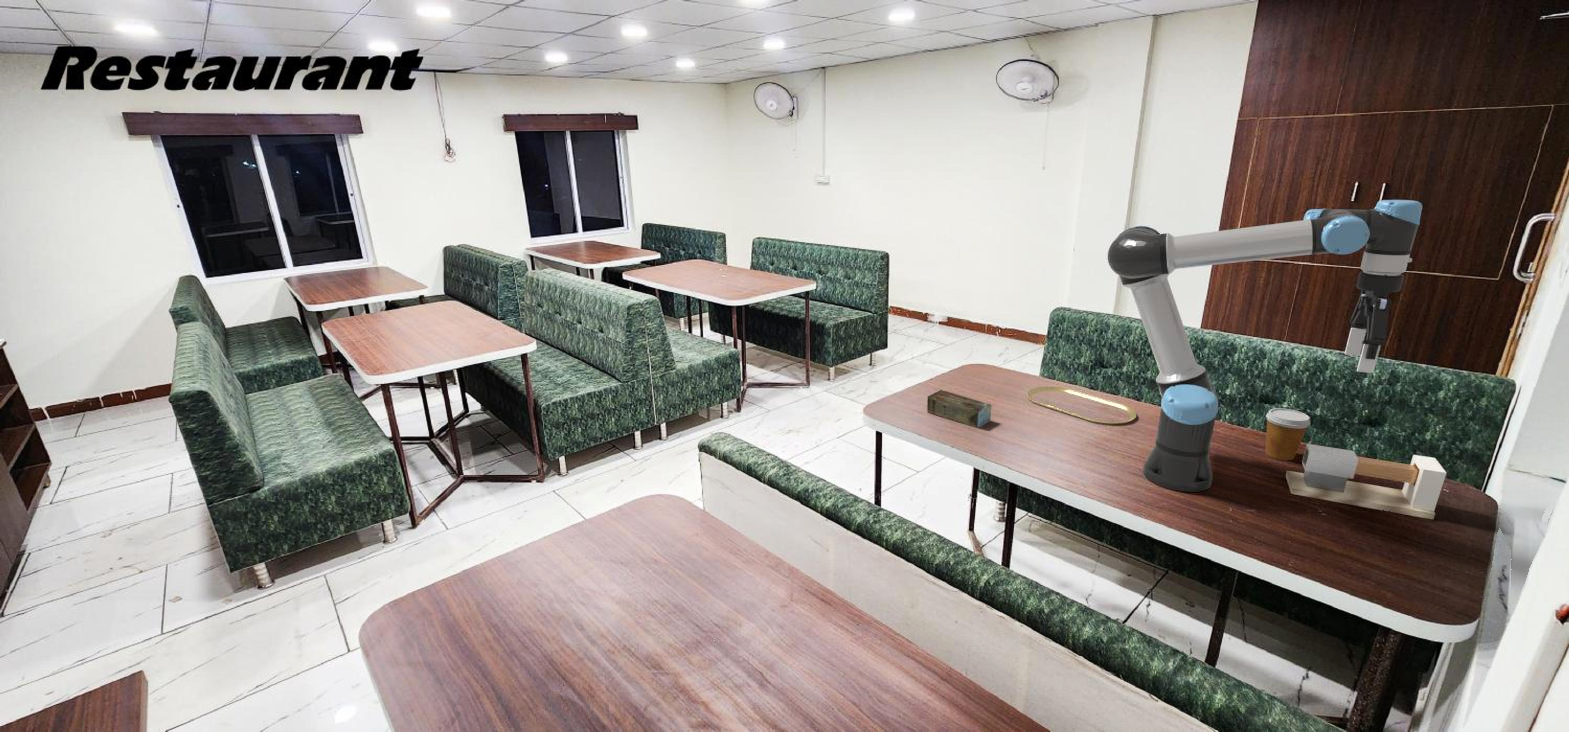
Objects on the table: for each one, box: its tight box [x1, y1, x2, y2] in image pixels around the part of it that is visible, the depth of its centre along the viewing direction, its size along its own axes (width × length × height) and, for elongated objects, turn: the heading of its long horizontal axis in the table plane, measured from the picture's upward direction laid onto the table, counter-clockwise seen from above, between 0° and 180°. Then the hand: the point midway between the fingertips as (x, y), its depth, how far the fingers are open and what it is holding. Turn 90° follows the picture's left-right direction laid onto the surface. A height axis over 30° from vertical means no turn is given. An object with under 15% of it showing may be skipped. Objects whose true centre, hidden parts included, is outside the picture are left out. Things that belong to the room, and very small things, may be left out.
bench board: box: [1285, 470, 1436, 520], centre depth 154 cm, size 26×10×2 cm, turn 60°
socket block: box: [1401, 454, 1447, 513], centre depth 147 cm, size 4×8×10 cm, turn 150°
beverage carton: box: [926, 389, 992, 429], centre depth 206 cm, size 8×19×7 cm, turn 43°
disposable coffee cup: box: [1264, 407, 1311, 461], centre depth 173 cm, size 10×10×12 cm
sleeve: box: [1301, 443, 1358, 493], centre depth 155 cm, size 9×5×9 cm, turn 60°
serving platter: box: [1026, 386, 1137, 425], centre depth 212 cm, size 19×35×2 cm, turn 35°
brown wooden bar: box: [1354, 456, 1420, 484], centre depth 150 cm, size 15×3×3 cm, turn 60°
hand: (1358, 363), depth 150 cm, fingers open, 13 cm apart
